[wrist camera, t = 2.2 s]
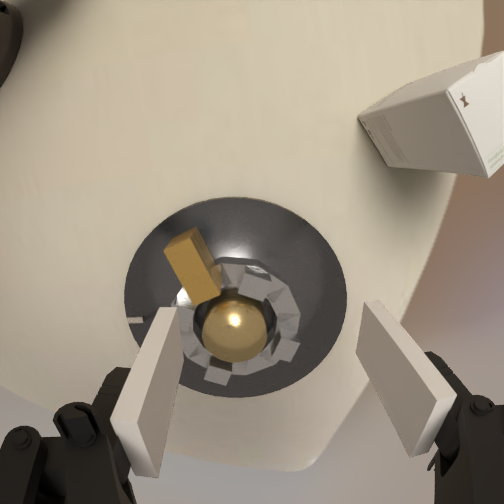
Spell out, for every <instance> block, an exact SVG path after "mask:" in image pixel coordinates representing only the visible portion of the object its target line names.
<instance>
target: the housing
mask: <svg viewBox="0 0 504 504" xmlns="http://www.w3.org/2000/svg"><path fill="white" fill-rule="evenodd" d="M196 226H197V228H198V230H199V232H200V234H201V236H202V238H203V240H204V242H205V244H206V246H207V248H208V250H209V252H210V254H211V256H212V257H213V259H214V260H216V259H218V258H220V257H222V256H224V257H236V258H249V259H258V260H259V261H261V262H262V263H264V264H265V265H267V266H268V267H270V268H271V269H273V270H274V271H276V272H277V273H279V274H280V275H282V276H283V277H285V279H286V281H287V283H288V285H289V288H290V290H291V292H292V294H293V296H294V299H295V301H296V303H297V305H298V308H299V311H300V320H299V325H298V331H297V334H298V337H299V340H300V345H299V347H298V349H297V351H296V352H295V354H294V356H293V358H292V360H291V362H288V361H284V360H279V361H278V362H277V363H276V364H275V365H273V366H270V367H267V368H265V369H262V370H259V371H257V372H254V373H251V374H248V375H234V374H231V376H230V378H229V380H228V382H227V385H226V386H225V385H221V384H218V383H214V382H210V381H207V380H204V372H205V368H204V367H203V366H201V365H199V364H197V363H195V362H193V361H192V360H190V359H188V358H187V356H186V355H185V353H184V352H183V357H184V362H183V366H182V371H181V375H180V379H179V384H181V385H184V386H186V387H188V388H190V389H193V390H196V391H198V392H201V393H205V394H209V395H214V396H221V397H236V398H242V397H253V396H258V395H264V394H268V393H271V392H274V391H277V390H280V389H282V388H285V387H287V386H289V385H291V384H293V383H295V382H296V381H298V380H300V379H302V378H303V377H304V376H306V375H307V374H308V373H310V372H311V371H312V370H313V369H314V368H315V367H317V366H318V365H319V364H320V363H321V362H322V360H323V359H324V358H325V357H326V356H327V354H328V353H329V352H330V350H331V349H332V347H333V345H334V344H335V342H336V340H337V338H338V336H339V334H340V332H341V328H342V325H343V322H344V319H345V313H346V306H347V292H346V284H345V278H344V275H343V271H342V268H341V265H340V263H339V261H338V259H337V257H336V254H335V253H334V251H333V250H332V248H331V247H330V245H329V244H328V242H327V241H326V240H325V239H324V238H323V236H322V235H321V234H320V233H319V232H318V231H317V230H316V229H315V228H314V227H313V226H312V225H311V224H309V223H308V222H307V221H306V220H305V219H303V218H302V217H300V216H299V215H297V214H295V213H294V212H292V211H290V210H288V209H286V208H284V207H282V206H279V205H277V204H274V203H271V202H268V201H264V200H260V199H254V198H248V197H223V198H214V199H209V200H206V201H202V202H198V203H195V204H193V205H190V206H188V207H185V208H183V209H181V210H179V211H178V212H176V213H174V214H173V215H171V216H169V217H168V218H167V219H165V220H164V221H163V222H162V223H160V224H159V225H158V226H157V227H156V228H155V229H154V230H153V231H152V232H151V233H150V234H149V235H148V236H147V237H146V238H145V239H144V241H143V242H142V244H141V245H140V247H139V248H138V250H137V251H136V253H135V255H134V257H133V260H132V262H131V264H130V267H129V270H128V273H127V277H126V283H125V290H124V303H125V310H126V316H127V320H128V323H129V327H130V329H131V332H132V334H133V336H134V338H135V340H136V342H137V344H138V345H139V347H140V348H141V346H142V344H143V342H144V340H145V337H146V335H147V333H148V331H149V329H150V327H151V324H152V322H153V320H154V318H155V316H156V314H157V312H158V310H159V308H160V307H171V303H172V301H173V298H174V296H175V294H176V293H177V291H178V290H179V288H180V287H181V285H182V284H181V282H180V280H179V279H178V277H177V275H176V273H175V272H174V270H173V268H172V266H171V264H170V262H169V261H168V259H167V257H166V255H165V253H164V249H165V248H166V247H167V245H168V244H169V242H170V241H171V240H172V238H174V237H176V236H178V235H180V234H182V233H184V232H186V231H188V230H190V229H192V228H194V227H196ZM237 289H238V287H231V286H225V287H223V288H221V292H220V295H219V296H216V297H214V298H212V299H209V300H207V301H205V302H202V303H200V304H199V305H198V306H197V307H196V313H195V322H196V323H197V325H198V327H199V328H200V330H201V331H202V339H203V343H204V345H205V347H206V349H207V350H208V351H209V352H210V353H211V354H212V355H213V356H215V357H216V358H218V359H220V360H223V361H226V362H232V363H237V362H244V361H247V360H250V359H252V358H254V357H255V356H257V355H258V354H259V353H260V352H261V351H262V350H263V348H264V346H265V344H266V341H267V333H268V332H269V331H270V330H271V329H272V327H273V323H274V316H275V312H274V310H273V308H272V305H271V303H270V301H269V300H268V299H267V298H265V299H264V301H260V300H257V299H253V298H250V297H247V296H244V295H241V294H238V293H237Z"/></svg>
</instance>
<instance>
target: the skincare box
mask: <svg viewBox="0 0 504 504" xmlns="http://www.w3.org/2000/svg"><path fill="white" fill-rule="evenodd" d="M358 119H359V120H360V122H361V123H362V125H363V126H364V128H365V130H366V131H367V133H368V134H369V136H370V138H371V139H372V141H373V142H374V144H375V146H376V147H377V149H378V151H379V152H380V154H381V156H382V157H383V159H384V161H385V162H386V164H387V166H388V167H397V168H409V169H421V170H431V171H441V172H450V173H458V174H466V175H473V176H480V177H487V178H489V177H490V176H491V175H493V174H494V173H495V172H496V171H497V170H498V168H500V167H501V166H502V165H503V164H504V51H501V52H497V53H494V54H491V55H488V56H484V57H481V58H478V59H475V60H472V61H469V62H466V63H463V64H461V65H458V66H455V67H452V68H449V69H446V70H443V71H440V72H438V73H435V74H432V75H430V76H427V77H424V78H422V79H419V80H416V81H414V82H411V83H408V84H406V85H404V86H403V87H401V88H399V89H398V90H396V91H394V92H393V93H391V94H390V95H388V96H386V97H385V98H383V99H382V100H380V101H379V102H377V103H376V104H374V105H373V106H371V107H369V108H368V109H367V110H365V111H364V112H362V113H361V114H360V115H358Z"/></svg>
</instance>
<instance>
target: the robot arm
mask: <svg viewBox="0 0 504 504" xmlns="http://www.w3.org/2000/svg"><path fill="white" fill-rule="evenodd" d="M22 28H23V25H22V17H21V14H20V12H19V10H18V9H17V8H16V7H14V6H13V5H11V4H9V3H7V2H4V1H0V86H1V84H2V83H3V81H4V80H5V78H6V77H7V75H8V73H9V71H10V69H11V67H12V65H13V63H14V60H15V58H16V55H17V53H18V50H19V46H20V42H21V37H22ZM356 354H357V356H358V358H359V360H360V362H361V364H362V366H363V367H364V369H365V371H366V373H367V375H368V377H369V379H370V381H371V383H372V384H373V386H374V388H375V390H376V392H377V394H378V396H379V398H380V400H381V402H382V404H383V406H384V408H385V409H386V411H387V413H388V416H389V417H390V419H391V421H392V423H393V425H394V427H395V429H396V431H397V433H398V435H399V437H400V439H401V442H402V443H403V446H404V448H405V449H406V452H407V454H408V456H409V458H410V457H414V456H417V455H421V454H424V453H427V452H429V450H430V448H431V446H432V444H433V443H434V441H435V443H436V445H437V446H438V448H439V449H438V450H437V452H436V454H435V456H434V457H433V459H432V460H431V462H430V464H429V465H428V468H427V470H428V471H430V470H431V468H432V466H433V465H434V463H435V469H434V471H435V501H434V504H504V405H494V403H493V402H492V401H491V400H490V399H489V398H486V397H484V396H480V395H472V394H471V393H470V392H469V391H468V389H467V388H466V387H465V386H464V385H463V383H462V382H461V381H460V380H459V378H458V377H457V376H456V375H455V374H453V371H452V370H451V369H450V368H449V367H448V365H447V364H446V363H445V362H444V361H443V360H442V358H441V357H439V356H437V355H436V354H434V353H433V352H431V351H430V352H423V351H422V350H421V349H420V348H419V346H418V345H417V344H416V343H415V342H414V340H413V339H412V338H411V337H410V335H409V334H408V333H407V332H406V331H405V330H404V328H403V327H402V326H401V325H400V324H399V322H398V321H397V320H396V319H395V318H394V316H393V315H392V314H391V313H390V312H389V311H388V309H387V308H386V307H385V306H384V305H383V304H382V303H381V301H380V300H377V301H364V306H363V312H362V319H361V325H360V331H359V337H358V343H357V349H356ZM183 362H184V357H183V350H182V342H181V335H180V327H179V319H178V311H177V307H160V308H159V310H158V312H157V314H156V316H155V318H154V320H153V322H152V324H151V327H150V329H149V331H148V333H147V335H146V337H145V340H144V342H143V344H142V346H141V348H140V351H139V353H138V355H137V357H136V359H135V362H134V364H133V366H132V368H122V367H116V368H115V369H114V370H112V371H111V372H110V373H109V374H108V375H107V376H106V378H105V380H104V382H103V384H102V387H101V388H100V389H99V391H98V395H96V397H95V399H94V401H93V403H92V405H90V404H87V403H84V402H73V403H69V404H66V405H64V406H63V407H61V408H59V410H58V411H57V412H56V413H55V415H54V418H53V422H54V424H55V425H56V427H57V429H58V431H59V433H60V435H61V437H41V436H40V434H39V432H38V431H37V430H36V429H35V428H33V427H30V426H19V427H16V428H14V429H13V430H11V431H10V432H9V433H8V434H7V435H6V437H5V439H4V441H3V444H2V446H1V449H0V504H137V503H136V500H135V496H134V493H133V490H132V485H131V483H130V481H129V479H128V474H129V470H130V467H131V468H132V470H133V472H134V474H135V475H137V476H144V477H152V478H158V477H159V472H160V467H161V462H162V457H163V452H164V447H165V443H166V438H167V433H168V428H169V424H170V419H171V415H172V410H173V406H174V401H175V397H176V392H177V388H178V383H179V379H180V375H181V371H182V366H183Z"/></svg>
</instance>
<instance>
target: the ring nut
mask: <svg viewBox="0 0 504 504" xmlns="http://www.w3.org/2000/svg"><path fill="white" fill-rule="evenodd" d="M164 253H165V255H166V257H167V259H168V261H169V262H170V264H171V266H172V268H173V270H174V272H175V273H176V275H177V277H178V279H179V280H180V282H181V284H182V285H181V287H180V288H179V290H178V291H177V293H176V294H175V296H174V298H173V301H172V303H171V307H177V311H178V319H179V327H180V335H181V342H182V350H183V352H184V353H185V355H186V356H187V358H188V359H190V360H192V361H193V362H195V363H197V364H199V365H201V366H203V367H204V368H205V372H204V380H207V381H210V382H214V383H218V384H221V385H225V386H226V385H227V382H228V380H229V378H230V376H231V374H234V375H248V374H251V373H254V372H257V371H259V370H262V369H265V368H267V367H270V366H273V365H275V364H276V363H277V362H278V361H279V360H284V361H288V362H291V360H292V358H293V356H294V354H295V352H296V351H297V349H298V347H299V345H300V340H299V337H298V334H297V331H298V325H299V320H300V311H299V308H298V305H297V303H296V301H295V299H294V296H293V294H292V292H291V290H290V288H289V285H288V283H287V281H286V279H285V277H283V276H282V275H280V274H279V273H277V272H276V271H274V270H273V269H271V268H270V267H268V266H267V265H265V264H264V263H262V262H261V261H259V260H258V259H249V258H236V257H224V256H222V257H220V258H218V259H216V260H214V259H213V257H212V256H211V254H210V252H209V250H208V248H207V246H206V244H205V242H204V240H203V238H202V236H201V234H200V232H199V230H198V228H197V226H196V227H194V228H192V229H190V230H188V231H186V232H184V233H182V234H180V235H178V236H176V237H174V238H172V240H171V241H170V242H169V244H168V245H167V247H166V248H165V249H164ZM225 286H231V287H238V289H237V293H238V294H241V295H244V296H247V297H250V298H253V299H257V300H260V301H264V299H265V298H267V299H268V300H269V301H270V303H271V305H272V308H273V310H274V312H275V316H274V323H273V327H272V329H271V330H270V331H269V332H268V333H267V341H266V344H265V346H264V348H263V350H262V351H261V352H260V353H259V354H258V355H257V356H255V357H254V358H252V359H250V360H247V361H244V362H237V363H232V362H226V361H223V360H220V359H218V358H216V357H215V356H213V355H212V354H211V353H210V352H209V351H208V350H207V349H206V347H205V345H204V343H203V339H202V331H201V330H200V328H199V327H198V325H197V323H196V322H195V313H196V307H197V306H198V305H199V304H200V303H202V302H205V301H207V300H209V299H212V298H214V297H216V296H219V295H220V292H221V288H223V287H225Z"/></svg>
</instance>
